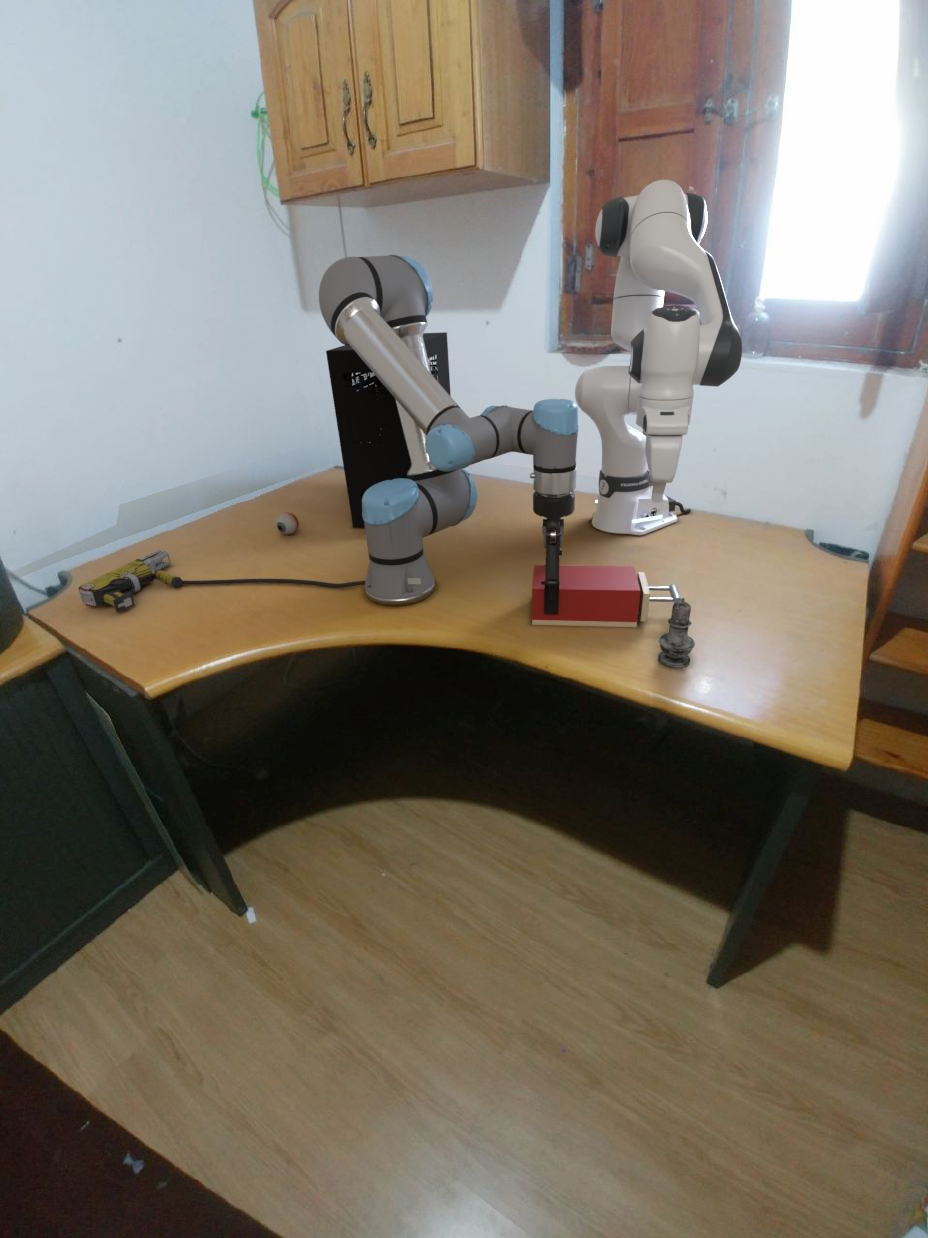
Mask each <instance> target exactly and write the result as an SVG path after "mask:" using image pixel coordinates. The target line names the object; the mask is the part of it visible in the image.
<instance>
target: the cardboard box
mask: <svg viewBox="0 0 928 1238" xmlns="http://www.w3.org/2000/svg"><path fill="white" fill-rule="evenodd" d="M423 340H424V344H425V348H426V353H427V357H428V361H429V366H430V370H431V374H432V376H433V377H434V378H435V379H436V380H437V381H438V383H439V384H440V385H441V386H442V387H443V388H444V389H445V391H446V392H447V393H448V394H449V395H450V396H451V380H450V364H449V363H450V362H449V361H450V360H449V344H448V332H446V331H445V332H444V331H443V332H424V333H423ZM325 354H326V361H327V366H328V374H329V381H330V386H331V392H332V400H333V406H334V407H333V408H334V412H335V421H336V426H337V432H338V439H339V446H340V452H341V459H342V465H343V473H344V478H345V484H346V492H347V499H348V504H349V510H350V517H351V524H352V528H364V529H365V525H364V520H363V517H362V498H363V495H364V493H365V492H366V491H367V490H368V489H369V488H370V487H371V486H373V485H375V484H377V483H379V482H382V481H386V480H393V479H397V478H405V479H408V477H407V472H408V470H409V468H410V467H411V460H410V456H409V452H408V448H407V444H406V440H405V436H404V433H403V429H402V425H401V421H400V417H399V413H398V409H397V405H396V401H395V398H394V397H393V395H392V394H391V393H390V392H389V391H388V389H387V388H386V387H385V386H384V385H383V384H382V382H381V381H380V380H379V379H378V378H377V376H376V375H375V374H374V373H373V372H372V371H371V369H370V368H369V367H368V366H367V365H366V363H365V362H364V361H363V360H362V359H361V358H360V356H359V355H358V354H357V353H356V352H355V351H354V349H353V348H352V347H351V346H347V345H344V344H343V345H341V346H338V347H334V348H331V349H328V350H325ZM430 358H431V359H430ZM451 397H452V396H451Z"/></svg>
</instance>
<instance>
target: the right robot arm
mask: <svg viewBox="0 0 928 1238" xmlns="http://www.w3.org/2000/svg"><path fill="white" fill-rule="evenodd" d="M707 209H708V208H707V202H706V200H705V199H704V197H703V196H702V195H701V194H700V195H699V194H696V193H692V192H686V193H684V190H683V189H682V187H681V186H680V185H679V184H678V183H677V182H675V181H674V180H670V179H658V180H656V181H653V182H651V183H649V184H648V185H646V186H645V187H644V188H643V189H642V190H641V191H640V193H639V194H637V195H632V196H631V195H630V196H626V197H623V196H622V195H620V196H616V197H613V198H611V199H607V200H606V201H605V203H604V204H603V205H601V209H600V211H599V213H598V215H597V218H596V222H595V228H594V229H595V230H594V233H595V241H596V244H597V247H598V250H599V252H600V253H601V254H602V255H603V256H605V257H610V258H617V257H618V256H619V257H620V260H619V262H618V268H617V272H616V277H615V283H614V289H613V300H612V314H611V325H610V335H611V336H610V337H611V339H612V340H613V342H614V343H615V344H616V345H618V346H619V347H621V348H622V349H624V350H626V351H628V352H630V358H629V359H630V360H629V365H603V366H597V367H593V368H589V369H586V370H584V371H583V372H582V373H581V374H580V376H579V377H578V379H577V381H576V384H575V387H574V389H575V390H574V397H575V402H576V405H577V407H578V408H580V410H581V411H582V412H583V413H584V414H586V415H587V416H588V417H589V418H590V420H592V422H593V423H594V425H595V427H596V429H597V431H598V434H599V436H600V437H599V438H600V443H601V468H600V470H599V474H598V492H599V493H598V498H597V499H595V500H594V503H595V504H596V507H595V511H594V514H593V517H592V520H591V525H592V526H593V527H594V528H595V529H597V530H599V531H601V532H605V533H611V534H623V535H625V534H626V535H632V536H633V535H634V536H645V535H646V534H650V533H652V532H654V531H657V530H660V529H662V528H665V527H668V526H670V525H672V524H675V523H677V522H678V516H677V515H676V514H675V513H674V512H675V511H676V507H679V512H680V513H682V514H685V515H686V514H688V513H691V512H692V510H691V508H687V509H684V505H683V504H682V503H681V502H679V501H677V500H676V499H673V498H671V497H670V496H668V495H666V494H664V493H665V489H666V487H667V484H671V483H672V482H673V481H674V478H675V476H676V473H677V469H678V465H679V464H678V463H679V459H680V456H681V455H680V454H681V450H682V445H683V439H684V436H686V435H687V434H688V431H689V426H690V424H691V416H692V409H693V402H694V393H695V392H694V386H698V385H699V386H701V387H720V386H721V385H723V384H724V383H726V382H727V381H729V380H730V378H732V377H733V376H734V375H735V374H736V373H737V371H738V370H739V369H740V366H741V362H742V357H743V342H742V336H741V334H740V330H739V329H738V327H737V326H736V323H735V322H734V319H733V317H732V314H731V310H730V307H729V303H728V300H727V297H726V293H725V290H724V286H723V282H722V279H721V276H720V273H719V270H718V265H717V264H716V261H715V259H714V257H713V255H712V254H711V253H710V252H708V251H706V250H704V248H702V246H700V243H702V239H703V237H704V234H705V232H706V229H707V225H708V211H707ZM665 292H667V293H671V294H675V295H678V296H682V297H684V298H686V299H689V300H690V301H692V302H693V304H694V305H695V307H696V308H694V307H692V306H690V305H689V306H688V305H681V304H672V305H665V306H664V300H665ZM626 416H636V418H635V419H636V420H635V424H636V425H637V426H639V427H640V428H641V429H642V432H641V431H640V430H639V429H636V428H634V427H632V426H630V425H629V424H628V422H626V418H625V417H626ZM647 468H648V469H647Z"/></svg>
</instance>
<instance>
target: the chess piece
mask: <svg viewBox="0 0 928 1238" xmlns="http://www.w3.org/2000/svg"><path fill="white" fill-rule="evenodd" d="M691 611H692V607H691V604H690V603H689V602H686V599H685V598H684V597H682V598H681V601H679V602H676V603H674V602H673V605H672V609H671V616H670V618H668V620H667V622H668V625H669V626H668V630H667V632H665V633H663V634H661V635H660V636H659V637H658V643H659V647H660V649H661V651H660V653H658V655H657V656H658V657H657V658H658V660H659V662H660V663H661V664H663V665H664V666H667V667H669V668H684V667H687V666H689V665H690V663H691V658H690V656H689V655H690V653H691V652H692V650H693V649H695V646H696V641H695V640H694V639H693V638H692V637H691V636H689V634H688V633H689V627H690V626H691V625H692V621H691V620H690V617H691Z"/></svg>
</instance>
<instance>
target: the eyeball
mask: <svg viewBox="0 0 928 1238" xmlns="http://www.w3.org/2000/svg"><path fill="white" fill-rule="evenodd" d="M299 525H300V522H299V519H298V517H297V516H296V515H295V514H294V513H292V512H287V511H286V512H282V513H280V514H279V515H278V516H277V517H276V520H275V527H276V529H277V530H278V531H279V532H280V533H281V534H282V535H285V536H286V535H287V536H289V535H293V534H295V533H296V532H297V531H298V529H299Z"/></svg>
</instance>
